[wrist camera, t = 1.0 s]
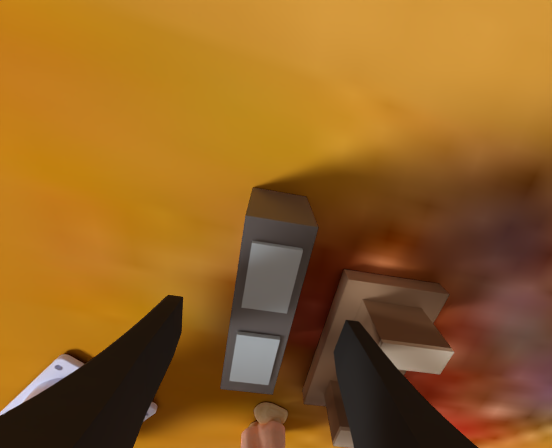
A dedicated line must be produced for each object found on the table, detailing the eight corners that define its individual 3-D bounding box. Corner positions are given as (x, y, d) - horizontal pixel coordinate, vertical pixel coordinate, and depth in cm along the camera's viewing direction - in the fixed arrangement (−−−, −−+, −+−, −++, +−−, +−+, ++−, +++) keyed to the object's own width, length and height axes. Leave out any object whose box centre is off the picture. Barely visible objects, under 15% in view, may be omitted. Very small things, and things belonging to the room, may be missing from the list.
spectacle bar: (272, 334, 17) (272, 398, 14) (231, 329, 17) (219, 392, 13) (306, 195, 14) (319, 229, 10) (253, 186, 13) (245, 217, 9)
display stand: (377, 398, 20) (401, 463, 16) (302, 390, 19) (309, 454, 16) (439, 283, 16) (490, 337, 12) (343, 269, 15) (366, 319, 11)
